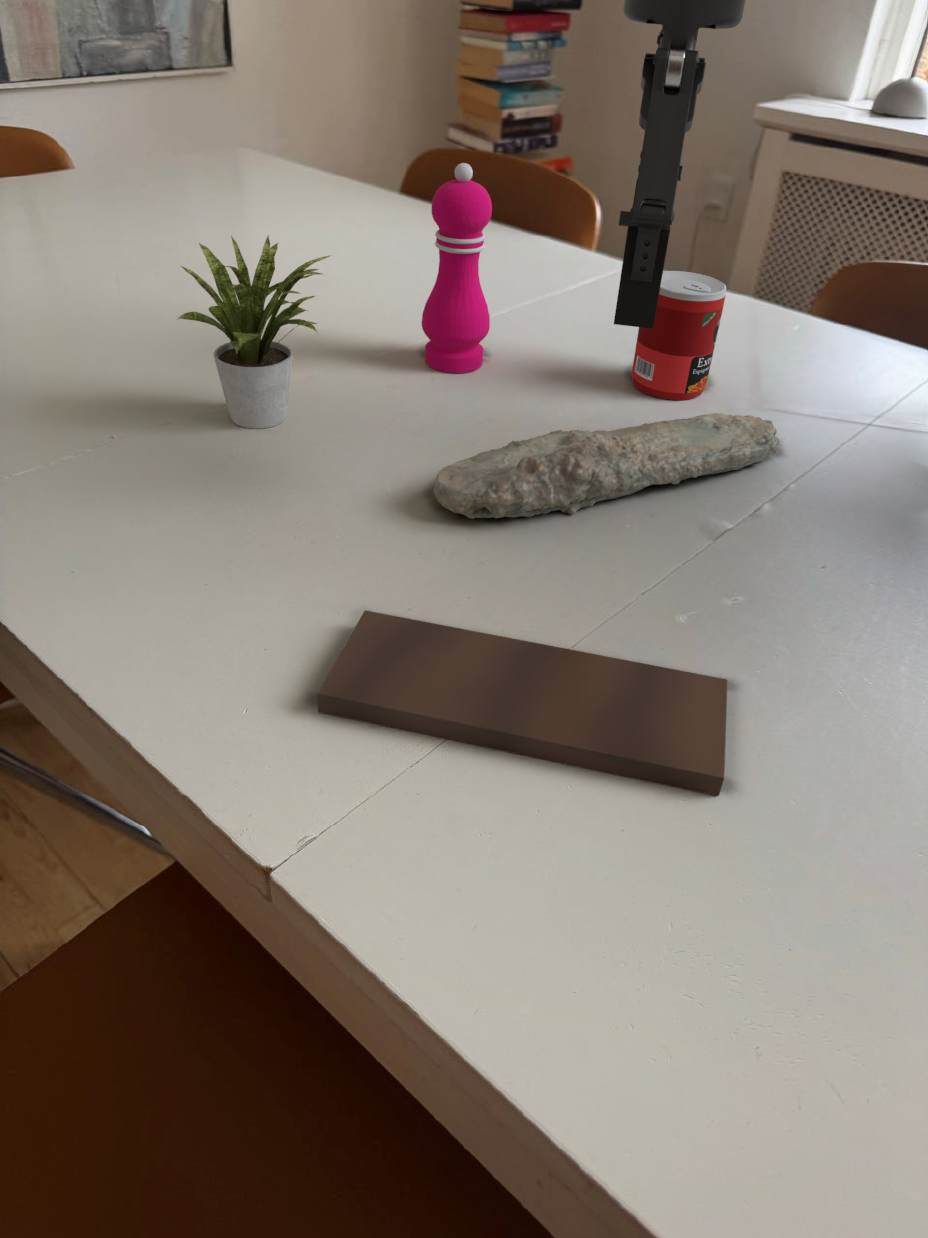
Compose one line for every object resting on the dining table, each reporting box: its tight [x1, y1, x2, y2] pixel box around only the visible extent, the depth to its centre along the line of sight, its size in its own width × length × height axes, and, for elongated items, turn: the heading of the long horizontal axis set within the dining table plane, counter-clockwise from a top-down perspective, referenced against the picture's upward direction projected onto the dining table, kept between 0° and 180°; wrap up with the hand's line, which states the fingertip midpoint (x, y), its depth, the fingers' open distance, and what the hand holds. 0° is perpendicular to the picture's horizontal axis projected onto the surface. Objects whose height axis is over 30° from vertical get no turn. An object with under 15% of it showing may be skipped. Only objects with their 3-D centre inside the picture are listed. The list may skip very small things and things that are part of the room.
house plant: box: [177, 234, 333, 430], centre depth 85 cm, size 14×14×16 cm
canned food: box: [631, 270, 727, 401], centre depth 100 cm, size 8×8×11 cm
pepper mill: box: [421, 162, 493, 374], centre depth 99 cm, size 7×7×20 cm
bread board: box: [316, 609, 728, 797], centre depth 60 cm, size 24×9×2 cm, turn 76°
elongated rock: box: [432, 412, 781, 520], centre depth 84 cm, size 35×5×10 cm
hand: (637, 295), depth 72 cm, fingers open, 13 cm apart
